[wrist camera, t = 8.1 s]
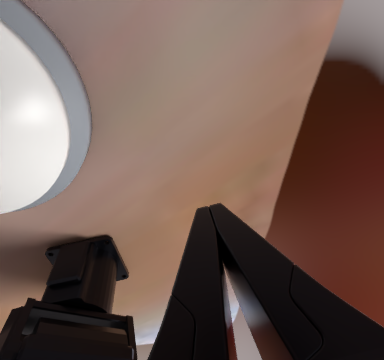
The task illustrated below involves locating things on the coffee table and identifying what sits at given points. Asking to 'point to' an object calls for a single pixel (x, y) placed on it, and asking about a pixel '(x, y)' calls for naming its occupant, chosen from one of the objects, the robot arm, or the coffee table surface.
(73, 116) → the base plate
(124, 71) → the coffee table surface
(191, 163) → the coffee table surface
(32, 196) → the dial
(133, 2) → the coffee table surface
